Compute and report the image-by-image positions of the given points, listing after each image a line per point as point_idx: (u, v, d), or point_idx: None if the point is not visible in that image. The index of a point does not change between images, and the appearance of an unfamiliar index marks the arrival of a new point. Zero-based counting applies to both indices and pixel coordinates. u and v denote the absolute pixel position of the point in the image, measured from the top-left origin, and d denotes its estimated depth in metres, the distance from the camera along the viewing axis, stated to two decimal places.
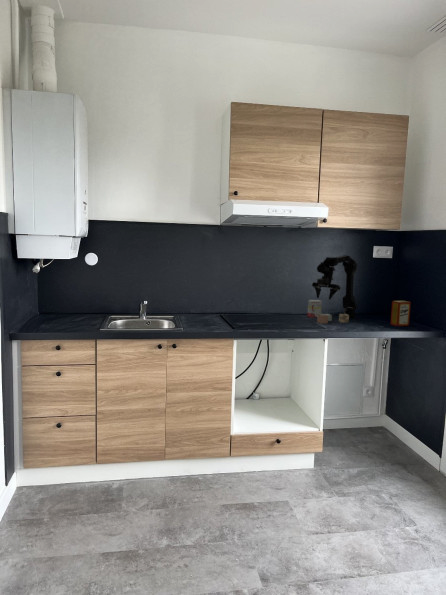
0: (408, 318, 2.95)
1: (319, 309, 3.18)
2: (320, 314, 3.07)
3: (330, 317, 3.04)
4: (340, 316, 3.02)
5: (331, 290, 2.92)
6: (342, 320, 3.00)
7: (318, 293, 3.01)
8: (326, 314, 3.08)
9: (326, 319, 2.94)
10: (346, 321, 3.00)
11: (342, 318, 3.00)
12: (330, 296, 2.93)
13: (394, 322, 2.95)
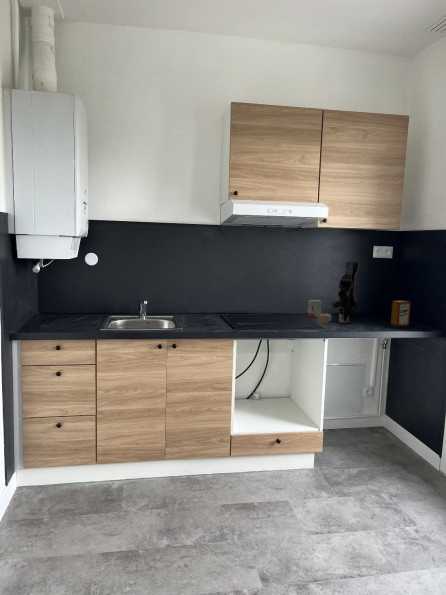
0: (408, 318, 2.95)
1: (319, 309, 3.18)
2: (320, 314, 3.07)
3: (330, 317, 3.04)
4: (340, 316, 3.02)
5: (343, 312, 2.98)
6: (342, 320, 3.00)
7: None
8: (326, 314, 3.08)
9: (326, 319, 2.94)
10: (346, 321, 3.00)
11: (342, 318, 3.00)
12: (344, 318, 2.99)
13: (394, 322, 2.95)
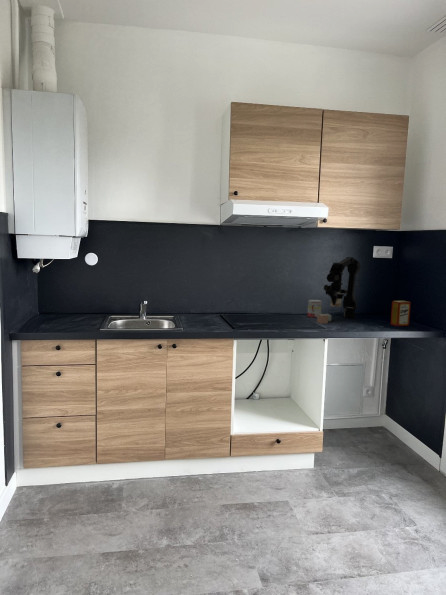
0: (408, 318, 2.95)
1: (319, 309, 3.18)
2: (320, 314, 3.07)
3: (330, 317, 3.04)
4: None
5: None
6: (331, 304, 3.03)
7: None
8: (326, 314, 3.08)
9: (326, 319, 2.94)
10: (335, 305, 3.01)
11: (331, 302, 3.03)
12: (332, 301, 3.01)
13: (394, 322, 2.95)
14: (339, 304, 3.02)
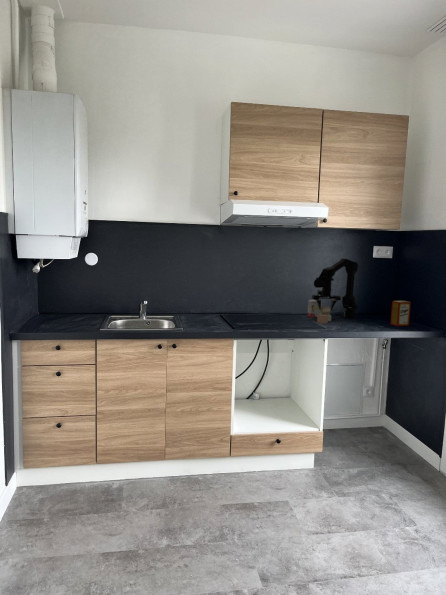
0: (408, 318, 2.95)
1: None
2: (320, 314, 3.08)
3: (329, 317, 3.04)
4: None
5: None
6: (321, 312, 3.09)
7: (331, 305, 3.07)
8: None
9: (326, 319, 2.94)
10: (322, 313, 3.06)
11: (321, 310, 3.09)
12: None
13: (394, 322, 2.95)
14: (327, 313, 3.05)
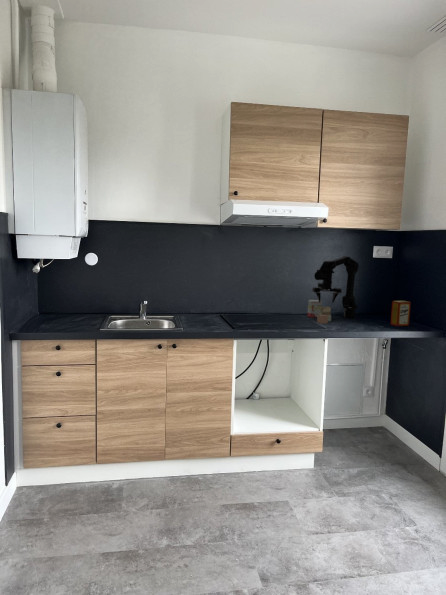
0: (408, 318, 2.95)
1: (319, 309, 3.18)
2: (320, 314, 3.08)
3: (329, 317, 3.04)
4: None
5: None
6: (321, 312, 3.09)
7: (333, 298, 3.07)
8: None
9: (326, 319, 2.94)
10: (322, 313, 3.06)
11: (321, 310, 3.09)
12: (318, 299, 3.07)
13: (394, 322, 2.95)
14: (327, 313, 3.05)
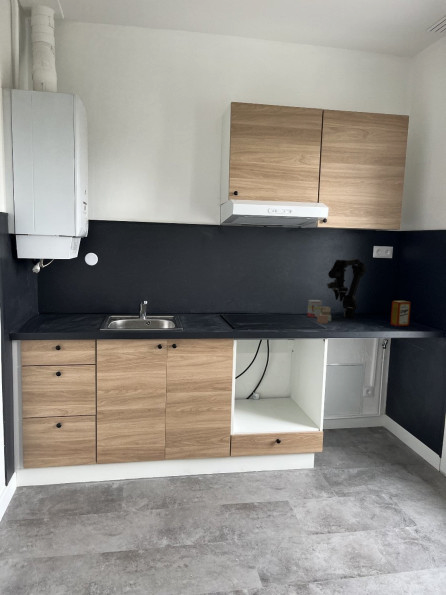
0: (408, 318, 2.95)
1: (319, 309, 3.18)
2: (320, 314, 3.07)
3: (329, 317, 3.04)
4: None
5: (339, 293, 3.04)
6: (321, 312, 3.09)
7: (336, 295, 3.15)
8: None
9: (326, 319, 2.94)
10: (322, 313, 3.06)
11: (321, 310, 3.09)
12: (340, 298, 3.05)
13: (394, 322, 2.95)
14: (327, 313, 3.05)
